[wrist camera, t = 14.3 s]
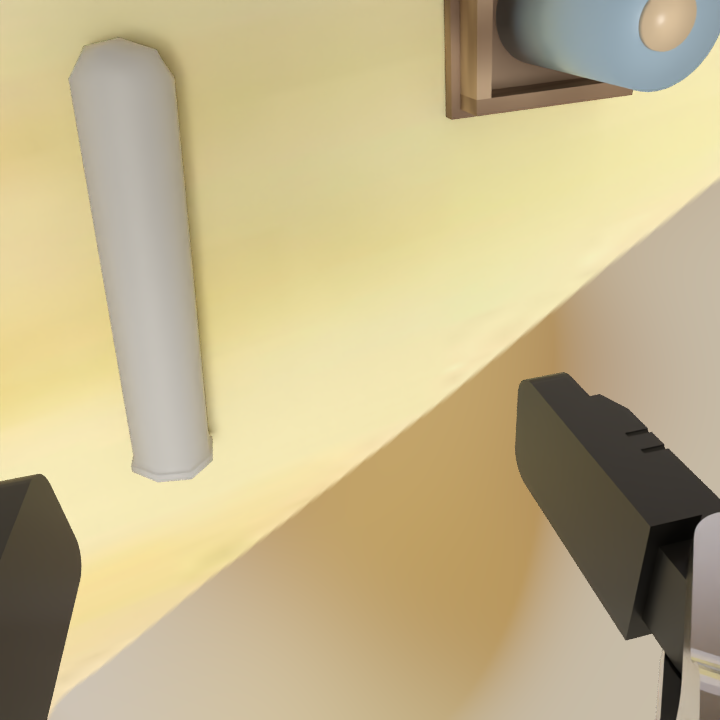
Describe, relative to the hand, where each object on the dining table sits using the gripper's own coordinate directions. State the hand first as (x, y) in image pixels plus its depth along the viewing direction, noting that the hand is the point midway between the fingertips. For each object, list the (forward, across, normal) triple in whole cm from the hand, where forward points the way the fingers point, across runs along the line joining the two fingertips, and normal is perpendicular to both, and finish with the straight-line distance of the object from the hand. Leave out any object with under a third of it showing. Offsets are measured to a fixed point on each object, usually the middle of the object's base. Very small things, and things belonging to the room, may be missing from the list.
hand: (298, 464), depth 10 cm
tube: (+29, +6, +6) cm, 30 cm away
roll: (+27, -17, -5) cm, 32 cm away
